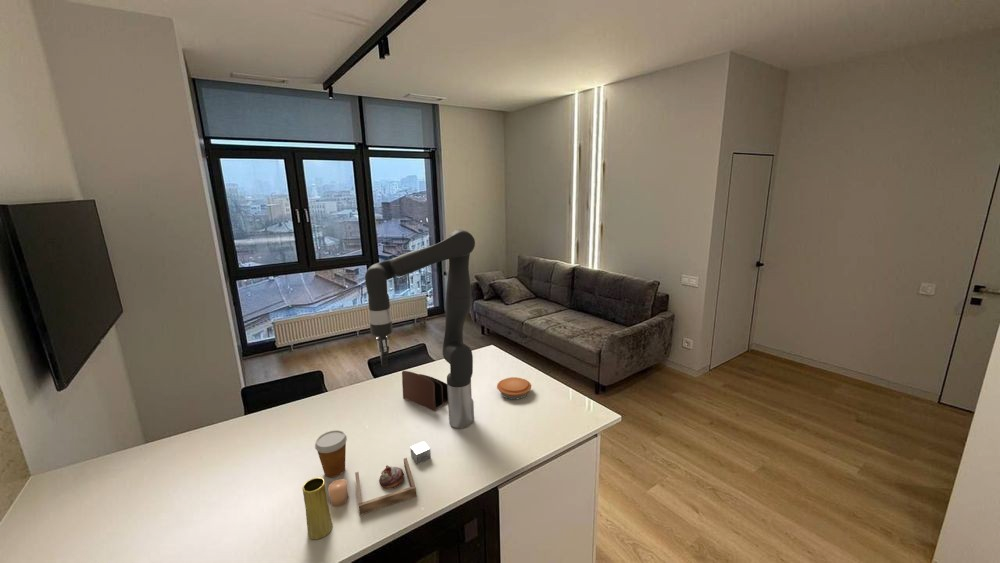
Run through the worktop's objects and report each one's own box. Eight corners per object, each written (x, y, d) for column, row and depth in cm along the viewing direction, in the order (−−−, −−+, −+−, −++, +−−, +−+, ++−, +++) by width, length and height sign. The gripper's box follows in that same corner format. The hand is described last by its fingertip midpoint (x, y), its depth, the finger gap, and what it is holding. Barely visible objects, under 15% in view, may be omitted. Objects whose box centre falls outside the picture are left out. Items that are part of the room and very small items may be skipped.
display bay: (407, 465, 125) (406, 457, 124) (416, 496, 112) (415, 487, 111) (356, 480, 119) (355, 472, 118) (359, 515, 106) (358, 506, 105)
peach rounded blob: (348, 491, 114) (346, 477, 113) (349, 503, 110) (347, 488, 109) (330, 496, 112) (328, 482, 111) (330, 509, 108) (328, 494, 107)
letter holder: (434, 412, 156) (432, 381, 153) (402, 398, 167) (400, 369, 164) (451, 401, 164) (449, 371, 161) (419, 389, 175) (417, 360, 172)
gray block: (424, 451, 132) (423, 441, 131) (430, 458, 128) (430, 448, 127) (411, 457, 129) (410, 446, 128) (417, 465, 125) (416, 454, 124)
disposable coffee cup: (339, 483, 118) (334, 449, 115) (312, 479, 120) (307, 446, 117) (356, 462, 127) (352, 430, 124) (331, 459, 129) (326, 427, 126)
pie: (532, 401, 162) (532, 391, 161) (496, 402, 163) (496, 391, 161) (530, 384, 177) (530, 374, 176) (497, 384, 178) (497, 375, 177)
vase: (313, 521, 104) (306, 476, 101) (336, 519, 104) (329, 475, 101) (303, 540, 98) (296, 494, 95) (328, 538, 98) (321, 492, 95)
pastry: (375, 479, 119) (373, 465, 118) (397, 468, 124) (396, 455, 123) (386, 493, 113) (384, 479, 112) (408, 481, 118) (407, 467, 117)
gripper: (394, 324, 129) (398, 370, 133) (388, 314, 141) (392, 356, 145) (371, 327, 127) (376, 375, 130) (367, 316, 138) (372, 360, 142)
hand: (385, 365), depth 138 cm, fingers closed
